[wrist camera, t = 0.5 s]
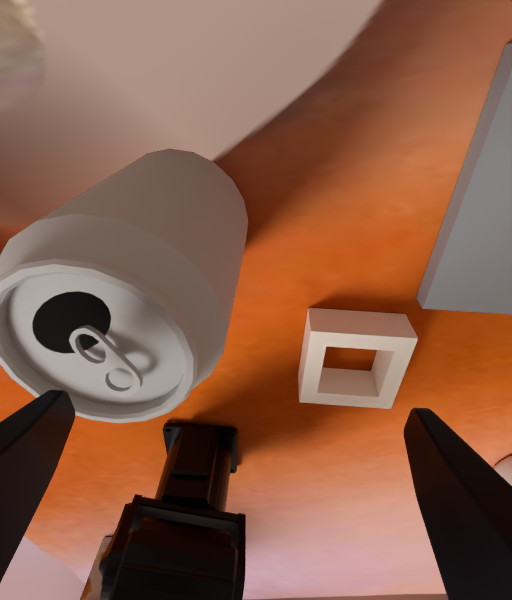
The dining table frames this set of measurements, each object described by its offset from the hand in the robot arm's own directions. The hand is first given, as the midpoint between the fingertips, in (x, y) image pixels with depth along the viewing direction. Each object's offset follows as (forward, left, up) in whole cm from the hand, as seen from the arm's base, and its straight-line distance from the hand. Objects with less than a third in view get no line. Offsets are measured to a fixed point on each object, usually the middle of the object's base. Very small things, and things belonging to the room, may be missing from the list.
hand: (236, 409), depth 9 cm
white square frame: (-9, -7, -13) cm, 17 cm away
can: (0, +4, -13) cm, 14 cm away
